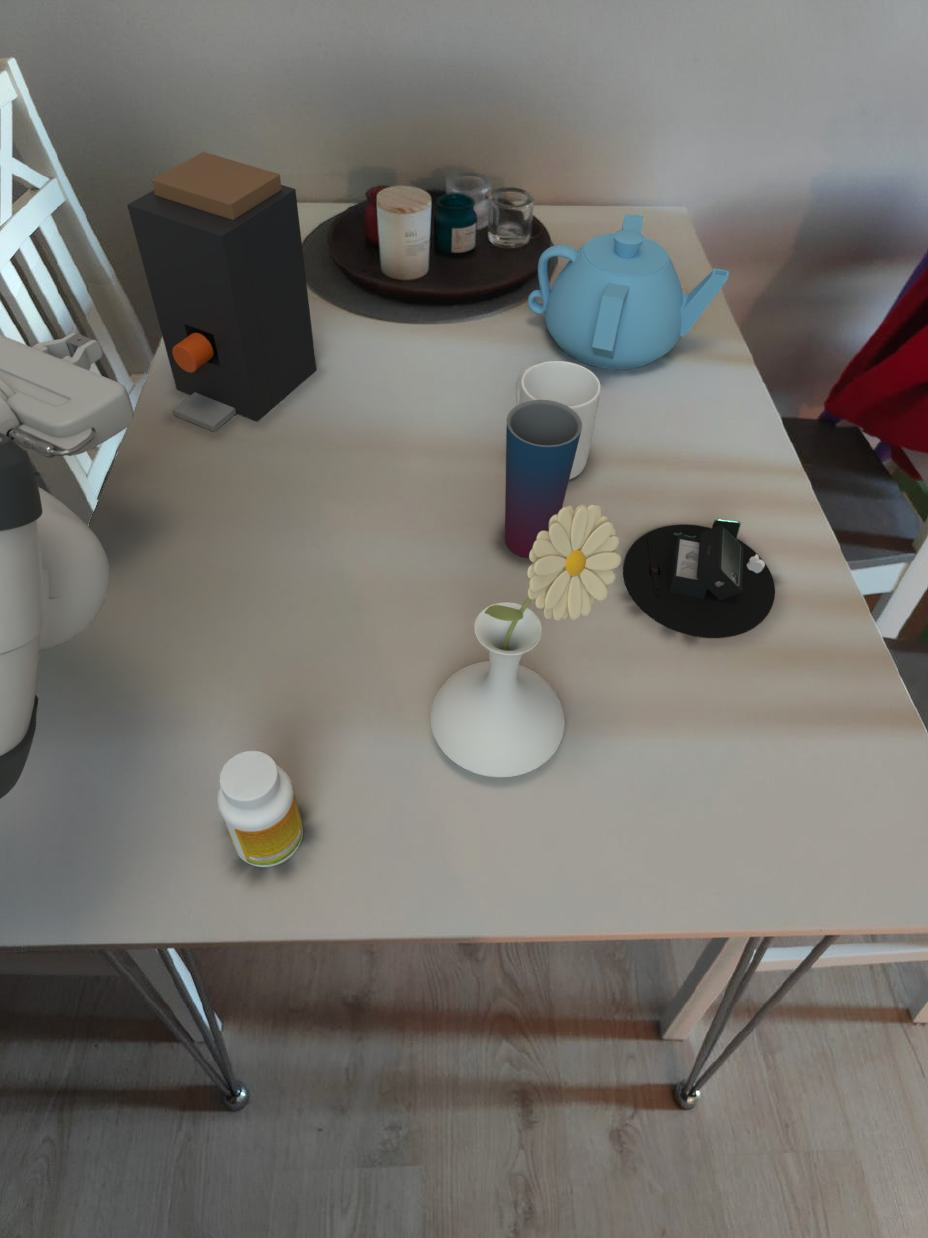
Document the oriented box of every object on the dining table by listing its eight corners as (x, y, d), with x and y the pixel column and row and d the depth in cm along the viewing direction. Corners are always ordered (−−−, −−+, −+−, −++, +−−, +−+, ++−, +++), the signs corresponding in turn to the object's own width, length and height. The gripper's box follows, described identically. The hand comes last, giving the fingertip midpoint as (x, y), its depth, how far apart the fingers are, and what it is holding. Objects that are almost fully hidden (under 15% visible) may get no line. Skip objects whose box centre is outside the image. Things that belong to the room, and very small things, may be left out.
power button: (198, 376, 93) (192, 350, 91) (175, 367, 94) (169, 341, 92) (216, 362, 95) (210, 337, 93) (193, 354, 96) (187, 328, 94)
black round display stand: (773, 652, 80) (793, 614, 75) (614, 620, 82) (624, 581, 77) (774, 541, 89) (791, 502, 85) (631, 515, 91) (641, 475, 87)
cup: (507, 569, 85) (520, 451, 74) (487, 523, 89) (497, 404, 78) (571, 558, 87) (593, 440, 75) (549, 513, 91) (567, 394, 79)
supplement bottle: (318, 830, 67) (304, 768, 59) (268, 883, 64) (247, 825, 56) (268, 792, 69) (249, 727, 61) (219, 841, 66) (192, 780, 58)
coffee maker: (235, 440, 97) (190, 236, 78) (153, 407, 100) (92, 203, 82) (316, 370, 106) (293, 172, 88) (239, 341, 109) (201, 145, 91)
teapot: (589, 392, 104) (608, 287, 94) (510, 316, 115) (519, 213, 104) (711, 354, 111) (741, 251, 100) (625, 285, 121) (644, 185, 111)
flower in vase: (450, 801, 69) (460, 599, 49) (415, 689, 76) (412, 473, 56) (600, 764, 71) (664, 559, 52) (553, 659, 78) (595, 443, 59)
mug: (485, 430, 99) (490, 352, 91) (546, 412, 102) (556, 335, 94) (536, 493, 93) (546, 416, 85) (600, 472, 95) (616, 395, 87)
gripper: (47, 431, 67) (167, 346, 75) (-129, 353, 73) (-1, 282, 81) (73, 491, 72) (183, 405, 80) (-94, 414, 78) (24, 341, 86)
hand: (89, 342), depth 80 cm, fingers closed
